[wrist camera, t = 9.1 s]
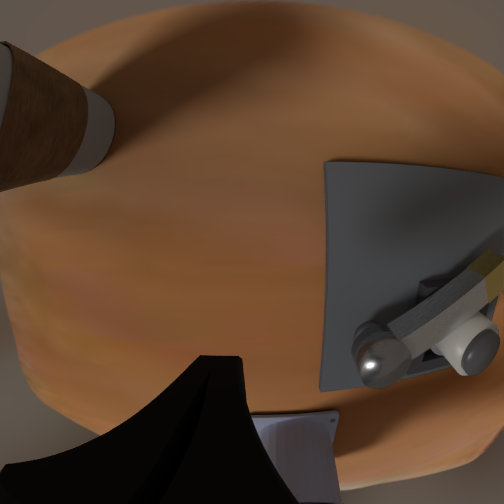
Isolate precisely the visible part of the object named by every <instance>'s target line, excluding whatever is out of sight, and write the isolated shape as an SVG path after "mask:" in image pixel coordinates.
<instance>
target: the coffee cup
mask: <svg viewBox="0 0 504 504" xmlns="http://www.w3.org/2000/svg"><path fill="white" fill-rule="evenodd" d="M114 130H115V117H114V113H113V110H112V108H111V106H110V104H109V103H108V102H107V101H106V100H105V99H104V98H102V97H101V96H99V95H97V94H96V93H94V92H92V91H91V90H89V89H87V88H85V87H83V86H82V85H80V84H79V83H77V82H76V81H74V80H73V79H71V78H69V77H68V76H66V75H64V74H63V73H61V72H59V71H58V70H56V69H54V68H53V67H51V66H49V65H47V64H46V63H44V62H42V61H41V60H39V59H37V58H35V57H34V56H32V55H30V54H28V53H26V52H25V51H23V50H21V49H19V48H17V47H15V46H13V45H12V44H10V43H8V42H6V41H4V42H0V192H2V191H5V190H9V189H13V188H17V187H20V186H24V185H28V184H33V183H37V182H41V181H46V180H50V179H52V178H58V177H64V176H71V175H77V174H83V173H85V172H88V171H90V170H91V169H93V168H94V167H96V166H97V165H98V164H99V163H100V162H101V160H102V159H103V158H104V157H105V155H106V153H107V152H108V150H109V148H110V145H111V143H112V140H113V136H114Z"/></svg>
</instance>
